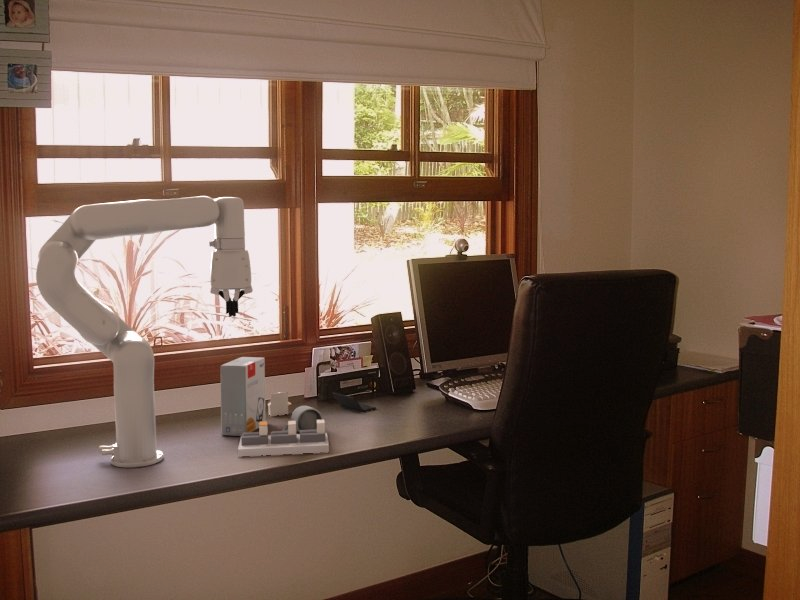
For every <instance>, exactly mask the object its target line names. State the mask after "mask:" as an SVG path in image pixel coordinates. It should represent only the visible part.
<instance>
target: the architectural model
mask: <svg viewBox="0 0 800 600" xmlns="http://www.w3.org/2000/svg"><path fill="white" fill-rule="evenodd" d="M291 405H292V402H290V401H289V392H288V391H284V392H283V391H282V392H280V391H278V392H275V393H274V392H273V393H270V399H268V403H267V406H268V407H267V408H268V409H267V410H268V416H269V415H270V416H269V417H276V416H277V415H279V416H285V414H287V415H289V406H291ZM277 417H278V416H277Z"/></svg>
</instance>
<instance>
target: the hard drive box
mask: <svg viewBox="0 0 800 600" xmlns="http://www.w3.org/2000/svg"><path fill="white" fill-rule="evenodd" d="M265 363H266V361H265V357H255V356H254V357H253V356H241V357H238V358H236V359H233V360H231V361H228V362H226V363H223V364H222V365H220V367H219V368H220V372H219V373H220V432H221V433H220V435H221V436H232V437H233V436H234V437H235V436H236V437H238V436H239V437H242V433H245V432H256V430H258V429H259V422H260V421H267V419H266V375H265V374H266V371H265V370H266V369H265V367H266V366H265V365H266V364H265Z"/></svg>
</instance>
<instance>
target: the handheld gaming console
mask: <svg viewBox="0 0 800 600" xmlns="http://www.w3.org/2000/svg"><path fill="white" fill-rule="evenodd" d="M332 395H333V397H334V398H335V400H336V401H337V402H338V404H339V405H340V407H339V408H342V407H343V409H346V408H347V410H350V409H351V410H350V411H353V410H356V411H355V412H357V411H359V412H358V413H361V412H364V413H367V411H368V412H372V411H371V410H373V411H376V410H377V407H376V406H373V405H369V404H365V403H360V402H358V400H357V399H356V398H355V397H354V396H353V397H352V396H349V395H345V394H343V393H342V394H341V393H338V392H332ZM375 409H376V410H375Z"/></svg>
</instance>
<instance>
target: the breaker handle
mask: <svg viewBox="0 0 800 600" xmlns="http://www.w3.org/2000/svg"><path fill="white" fill-rule="evenodd" d="M258 429H259V431H258V432H259V436H260V435H267V433H268V434H269V430H268V421H267V420H266V421H260V422H259V428H258Z"/></svg>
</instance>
